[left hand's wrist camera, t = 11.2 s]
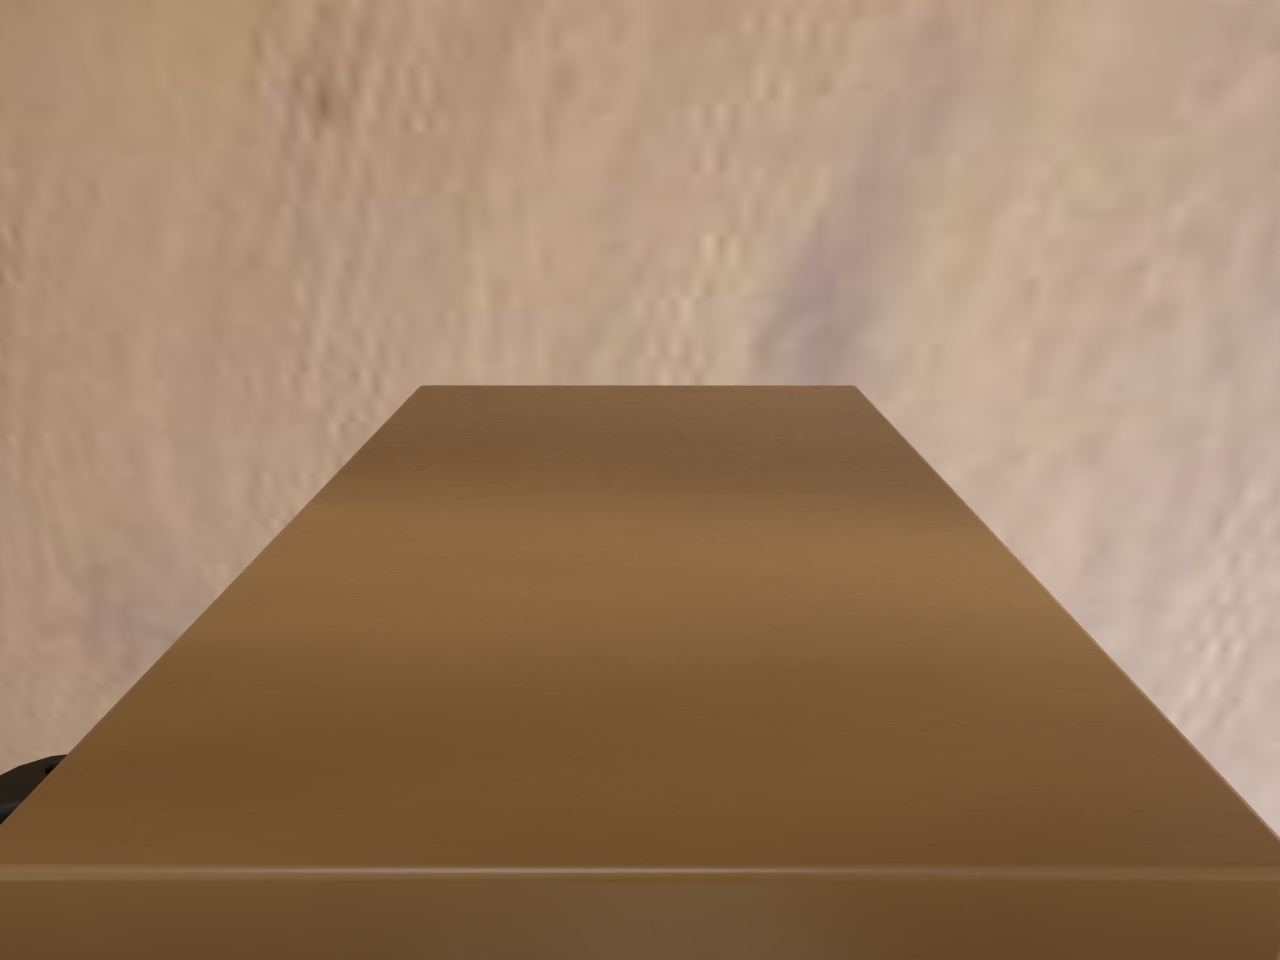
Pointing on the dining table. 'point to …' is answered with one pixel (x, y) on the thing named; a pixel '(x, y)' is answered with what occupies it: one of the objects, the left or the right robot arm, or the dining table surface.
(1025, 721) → the box
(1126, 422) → the dining table surface
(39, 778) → the left robot arm
